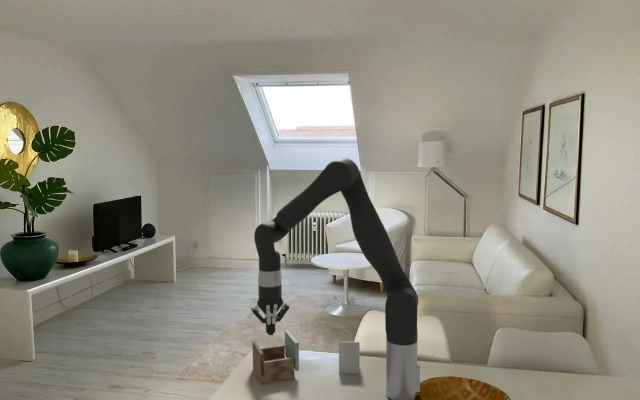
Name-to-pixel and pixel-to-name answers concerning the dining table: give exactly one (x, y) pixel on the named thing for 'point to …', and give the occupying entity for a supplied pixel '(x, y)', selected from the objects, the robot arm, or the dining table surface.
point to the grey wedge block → (349, 357)
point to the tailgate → (292, 348)
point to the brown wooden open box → (272, 364)
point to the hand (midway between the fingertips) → (270, 334)
